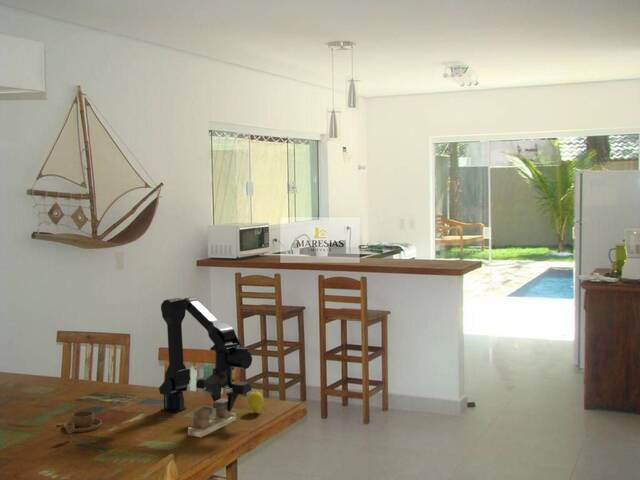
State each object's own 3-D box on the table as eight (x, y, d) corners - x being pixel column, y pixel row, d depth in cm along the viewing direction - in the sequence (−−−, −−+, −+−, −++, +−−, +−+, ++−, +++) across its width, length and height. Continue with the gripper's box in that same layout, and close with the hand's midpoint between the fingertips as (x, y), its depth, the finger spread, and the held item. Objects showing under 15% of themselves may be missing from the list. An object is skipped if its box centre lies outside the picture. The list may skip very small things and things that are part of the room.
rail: (188, 434, 244) (187, 411, 243) (223, 418, 262) (223, 396, 262) (200, 437, 242) (200, 413, 241) (236, 420, 260) (236, 398, 259)
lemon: (261, 415, 265) (261, 393, 265) (245, 414, 266) (245, 392, 266) (265, 411, 270) (265, 389, 270) (250, 410, 272) (250, 388, 271)
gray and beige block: (213, 419, 255) (213, 402, 255) (221, 415, 260) (222, 398, 259) (222, 421, 253) (222, 403, 253) (230, 417, 258) (231, 399, 258)
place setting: (116, 427, 253) (116, 409, 253) (71, 444, 235) (71, 426, 235) (76, 419, 261) (76, 402, 261) (30, 436, 243) (30, 418, 243)
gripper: (186, 366, 253) (186, 412, 254) (234, 372, 245) (234, 420, 246) (205, 359, 263) (206, 404, 264) (252, 365, 255) (252, 411, 256)
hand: (223, 410), depth 257 cm, fingers open, 4 cm apart
